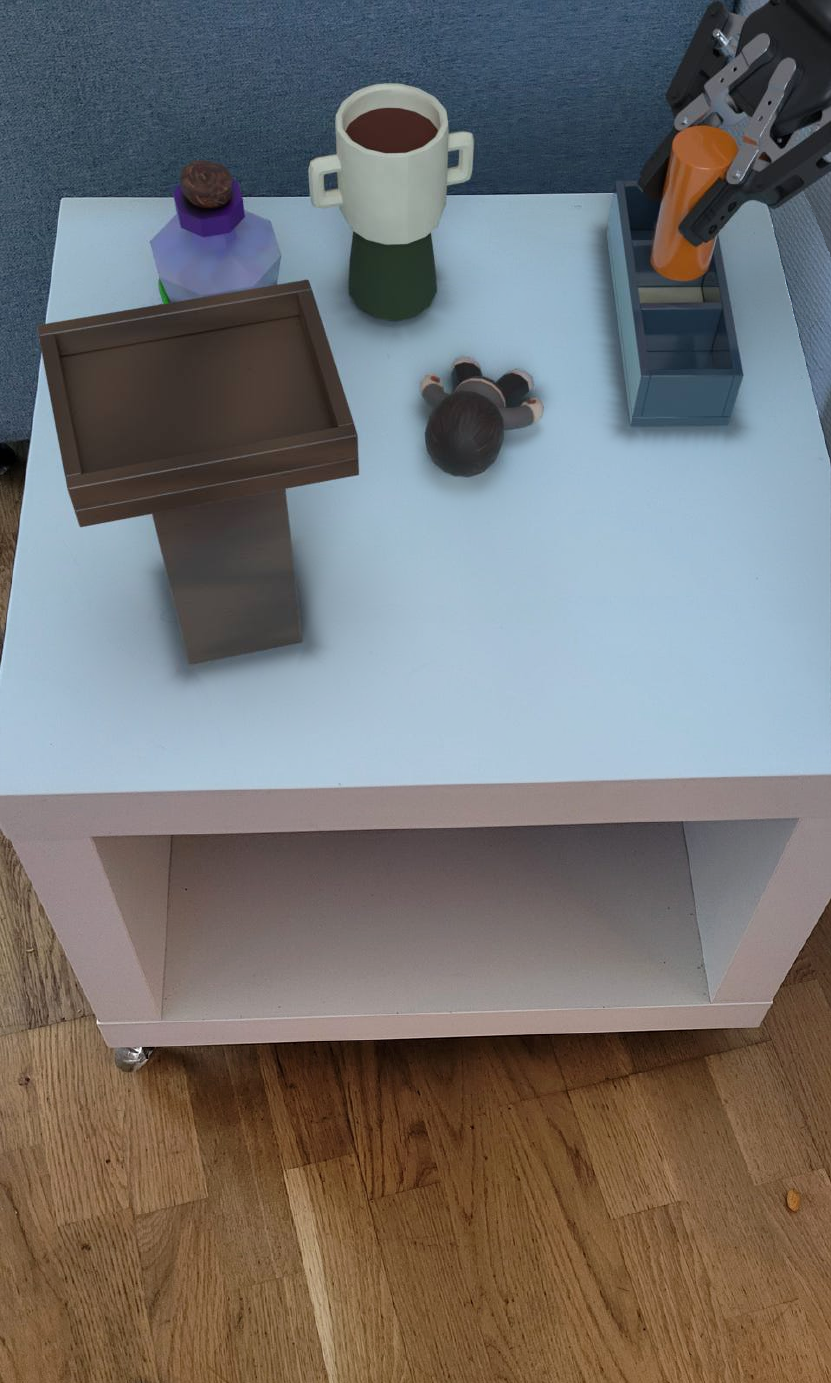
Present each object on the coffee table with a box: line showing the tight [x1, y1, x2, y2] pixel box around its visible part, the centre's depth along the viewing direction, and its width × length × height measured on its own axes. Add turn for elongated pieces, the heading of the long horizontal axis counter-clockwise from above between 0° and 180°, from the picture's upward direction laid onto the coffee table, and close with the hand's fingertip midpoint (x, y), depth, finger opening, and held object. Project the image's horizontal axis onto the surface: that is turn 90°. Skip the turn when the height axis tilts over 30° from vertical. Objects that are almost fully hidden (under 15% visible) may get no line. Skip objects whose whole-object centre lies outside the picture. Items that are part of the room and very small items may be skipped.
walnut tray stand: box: [36, 279, 360, 666], centre depth 72 cm, size 14×11×18 cm
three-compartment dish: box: [606, 180, 744, 427], centre depth 89 cm, size 7×19×4 cm, turn 1°
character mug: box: [307, 82, 475, 322], centre depth 86 cm, size 11×7×13 cm, turn 106°
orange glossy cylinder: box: [650, 126, 739, 281], centre depth 83 cm, size 4×4×8 cm
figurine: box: [419, 356, 544, 478], centre depth 85 cm, size 8×5×10 cm
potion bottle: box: [149, 159, 282, 304], centre depth 85 cm, size 9×9×12 cm
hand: (667, 215), depth 82 cm, fingers closed on orange glossy cylinder, 4 cm apart
